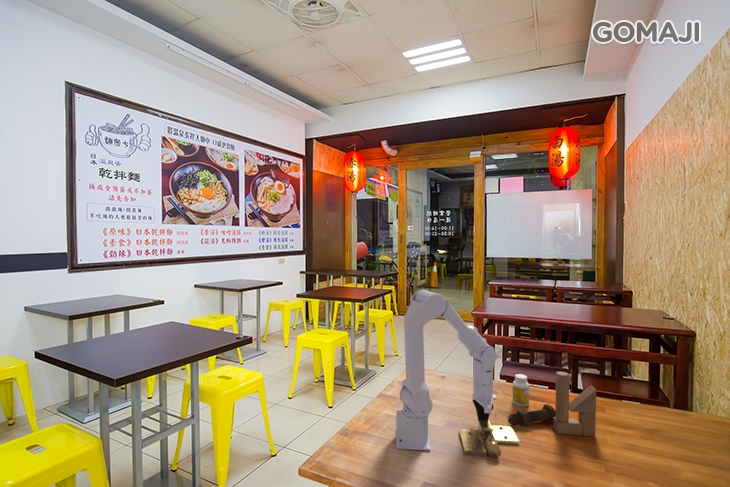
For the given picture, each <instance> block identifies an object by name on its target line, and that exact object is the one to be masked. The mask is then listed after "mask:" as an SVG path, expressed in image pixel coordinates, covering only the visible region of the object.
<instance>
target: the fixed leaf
mask: <svg viewBox="0 0 730 487" xmlns="http://www.w3.org/2000/svg"><path fill="white" fill-rule="evenodd" d="M458 434H459V437H460V441H461V445H462V448H463V453H464V455H468V456H481V457H482V456H485V457H486V456H487V455H489V456H490V457H491V458H493V459H497V458H499V457H500V456H501V453H502V452H501V449H500V446H499V443H497V442H496V440H495V439H493V438H491V437H490V435H489V434H486V437H487V439H486V440H485V441H483V438H481V436H480V433H479V430H478V429H477V430H476V429H465V428H464V429H460V428H459V429H458ZM484 442H485V443H484ZM487 453H488V454H487Z"/></svg>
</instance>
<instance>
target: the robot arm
mask: <svg viewBox="0 0 730 487" xmlns="http://www.w3.org/2000/svg"><path fill="white" fill-rule="evenodd" d="M438 317H443V318H444V320H446V321H447V322H448V324H450V325H451V327H452V328H453V329H454V330H455V331H456V332H457V339H458V340H459V341H460V342H461V343H462V344H463V346H465V348H466V349H467V350H468V352H469V356H470V357H472V358H473V360H472V361H473V367H472V368H473V372H472V373H473V374H472V375H473V377H472V378H473V379H472V380H473V381H472V384H473V386H472V387H473V390H472V403H473V405H474V407H475V410H476V417H477V421H478V420H489V418H490V415H491V414H492V413H493V409H494V405H493V401H495V400H497V399H498V398H497V396H496V394H494V392H493V391H494V390H493V389H494V388H493V387H494V384H493V383H494V382H493V381H494V379H493V378H494V376H493V375H494V372H493V371H494V368H495V364H496V361H497V359H498V354H497V352H496V349H495V347H493V346H492V345H490V344H488V341H487V339H486V338H485V337H482V335H481V334H480V333H479V329H478V328H477V327H476V326H473V325H471V324H470V325H468V324H466V323H465V321H464V320H463V319H462V317H461V316H460V315H459V313H457V311H456V310H455V308H454V307H453V306H452V304H451V302H450V301H448V300H447V299H446V298H445V296H444V295H443V294H440V293H435V292H433V291H429V290H427V289H424V288H422V289H418V290H417V291H416V292H415V293H414V294H413V295H412V296H411V297H410V304H409V306H408V308H407V310H406V313H405V316H404V318H403V319H404V320H403V324H404V325H403V326H404V327H403V328H404V329H403V331H404V353H405V354H404V355H405V356H404V357H405V361H404V362H405V363H404V364H405V379H403V380H402V381H401V388H400V391H399V399H400V402H402V404H403V406H402V409H400V410H396V411H395V412H396V416H395V417H396V421H395V423H396V424H395V432H394V437H395V440H396V442H395V443H396V444H395V446H396V449H398V450H399V449H400V450H413V451H414V450H415V451H431V443H430V436H429V435H430V434H429V415H430V413H431V412H432V409H433V401H432V399H431V396H430V389H429V387H428V385H427V382H426V376H425V373H426V372H425V344H424V343H425V342H424V340H425V338H424V337H425V336H424V327H425V325H426V324H428V323H429V322H431V321H433V320H434V319H436V318H438Z"/></svg>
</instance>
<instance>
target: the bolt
mask: <svg viewBox="0 0 730 487" xmlns="http://www.w3.org/2000/svg"><path fill="white" fill-rule="evenodd" d="M553 417H555V408H554V406H552V405H551V404H548V403H547V404H543V407H542V408H541V409H538V410H530V411H525V410H524V409H518V410H516V412H515V413H511V414H509V415H508V416H507V422H508V423H509V425H511V427H513V426H518V425H519V426H521V427H523V428H526V427H528V425H529V424H531V423H539V422H544V421H545V422H548V423H549V422H550V423H551V425H553V424H552V423H553ZM550 423H549V424H550Z"/></svg>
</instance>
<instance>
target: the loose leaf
mask: <svg viewBox="0 0 730 487" xmlns="http://www.w3.org/2000/svg"><path fill="white" fill-rule="evenodd" d="M477 421H478V422H477V427H478V428H477V430H479V433H480V436H481V438H482V439H483V440H484V439H486V440H487V437H486V434H489V435H490V437H491V438H493V439H495V440H496V442H497V444H505V445H508V444H510V445H511V444H512V445H519V444H520V440H519V439H518V437H517V435H516V433H515V431H514V429H513V428H512V427H513V426H512V425H511V426H510V425H492V424H491V422H490V420H489V419H488V420H478V419H477Z"/></svg>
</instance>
